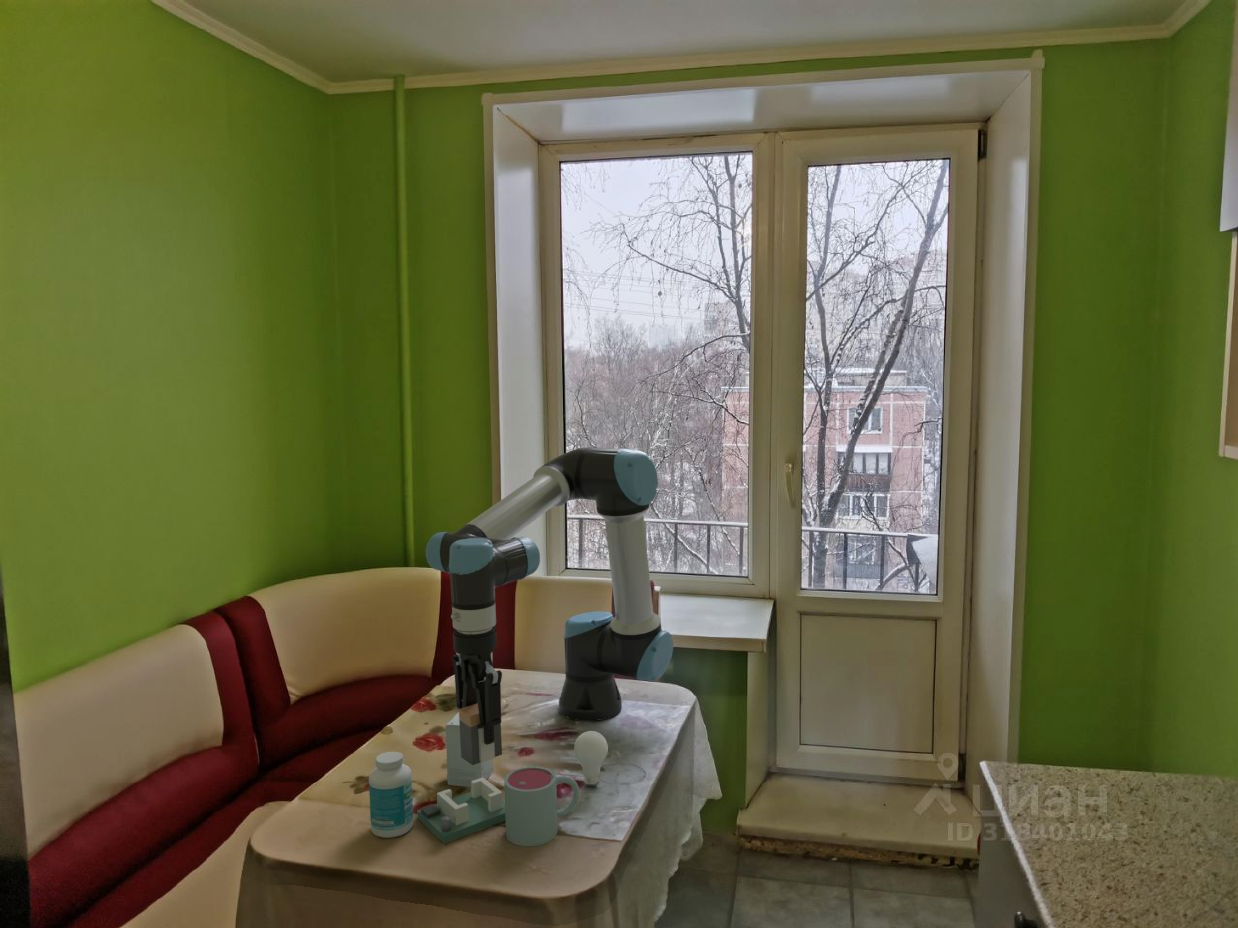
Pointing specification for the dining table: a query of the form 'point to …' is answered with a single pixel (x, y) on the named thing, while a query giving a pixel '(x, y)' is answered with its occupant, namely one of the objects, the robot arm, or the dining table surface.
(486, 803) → the board
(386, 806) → the pill bottle
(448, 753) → the supplement box
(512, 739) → the dining table surface
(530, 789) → the mug
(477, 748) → the plug
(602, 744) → the light bulb
